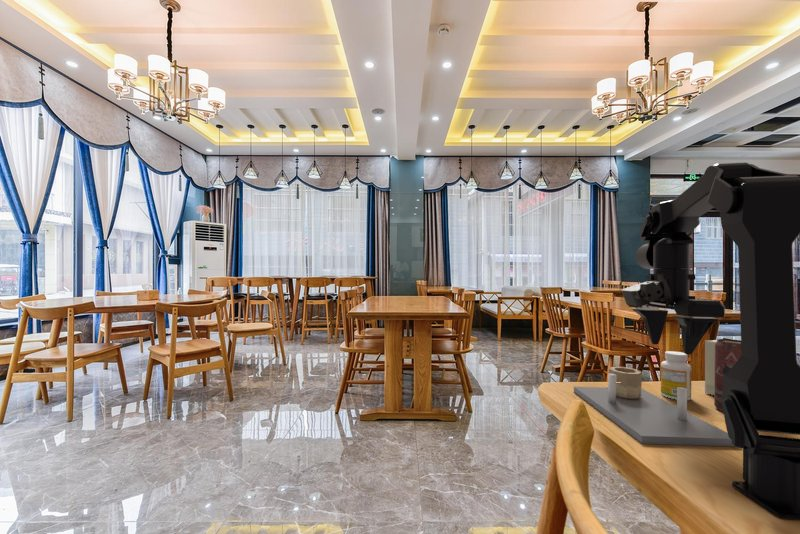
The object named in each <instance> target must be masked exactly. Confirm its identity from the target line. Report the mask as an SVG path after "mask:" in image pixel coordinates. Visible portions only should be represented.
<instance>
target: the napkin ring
mask: <svg viewBox="0 0 800 534" xmlns="http://www.w3.org/2000/svg"><path fill="white" fill-rule="evenodd" d="M608 374H616V382H621V383H616V396H620V397H625V398H639V397H641V388H642V383H643V382H642V381H643V379H642V377H643V375H642V371H641V370H639V369H636V368H631V367H626V366H611V367H609V368H608Z"/></svg>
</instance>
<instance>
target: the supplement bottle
mask: <svg viewBox="0 0 800 534" xmlns="http://www.w3.org/2000/svg"><path fill="white" fill-rule="evenodd" d="M664 358H665V360H663V361H661V363H660V394H661V395H662V397H664V396H665V397H664V398H667V397H668V398H667V399H670V398H671V400H674V399H675V400H676V401H677V387H683V388H686V389H687V401H690V400H691V399H692V366H691V365H690V364H689V363H687V361H688V354H685V353H684V352H681V351H675V350H674V351H673V350H669V351H667V350H666V351H665V352H664Z"/></svg>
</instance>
